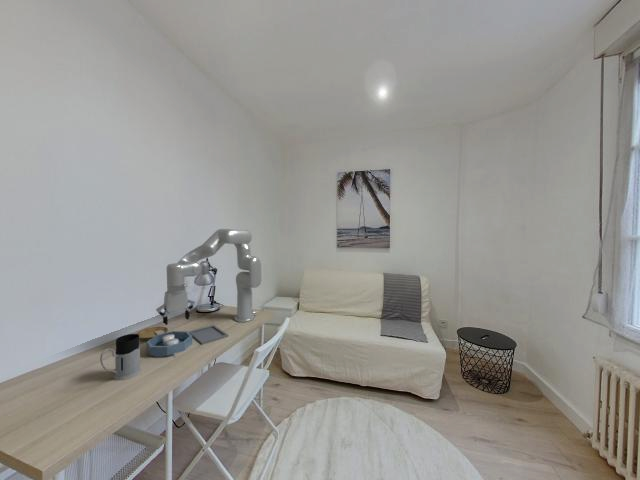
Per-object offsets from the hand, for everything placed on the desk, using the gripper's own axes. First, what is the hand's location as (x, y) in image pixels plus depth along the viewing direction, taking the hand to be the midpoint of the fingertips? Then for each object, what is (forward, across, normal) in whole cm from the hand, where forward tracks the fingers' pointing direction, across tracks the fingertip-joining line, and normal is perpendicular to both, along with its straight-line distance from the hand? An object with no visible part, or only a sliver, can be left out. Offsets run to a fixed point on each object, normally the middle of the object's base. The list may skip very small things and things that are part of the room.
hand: (176, 321), depth 126 cm
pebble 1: (+12, +3, -2) cm, 12 cm away
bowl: (+12, +4, +1) cm, 13 cm away
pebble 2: (+12, +4, +4) cm, 13 cm away
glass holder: (+12, +25, +15) cm, 31 cm away
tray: (+13, -16, 0) cm, 20 cm away
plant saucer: (+13, +6, -21) cm, 26 cm away
